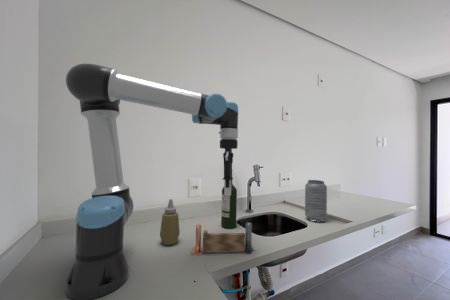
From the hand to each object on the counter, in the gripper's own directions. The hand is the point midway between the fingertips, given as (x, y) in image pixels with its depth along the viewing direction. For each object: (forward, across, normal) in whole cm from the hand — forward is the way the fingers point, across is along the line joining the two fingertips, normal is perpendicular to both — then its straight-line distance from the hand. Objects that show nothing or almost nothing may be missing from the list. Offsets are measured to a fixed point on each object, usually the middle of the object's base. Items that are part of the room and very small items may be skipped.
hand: (227, 194), depth 82 cm
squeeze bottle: (+21, +3, -24) cm, 32 cm away
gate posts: (+20, +6, -1) cm, 21 cm away
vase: (+21, -40, +48) cm, 66 cm away
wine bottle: (+21, -20, -2) cm, 29 cm away
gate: (+20, +8, 0) cm, 21 cm away
